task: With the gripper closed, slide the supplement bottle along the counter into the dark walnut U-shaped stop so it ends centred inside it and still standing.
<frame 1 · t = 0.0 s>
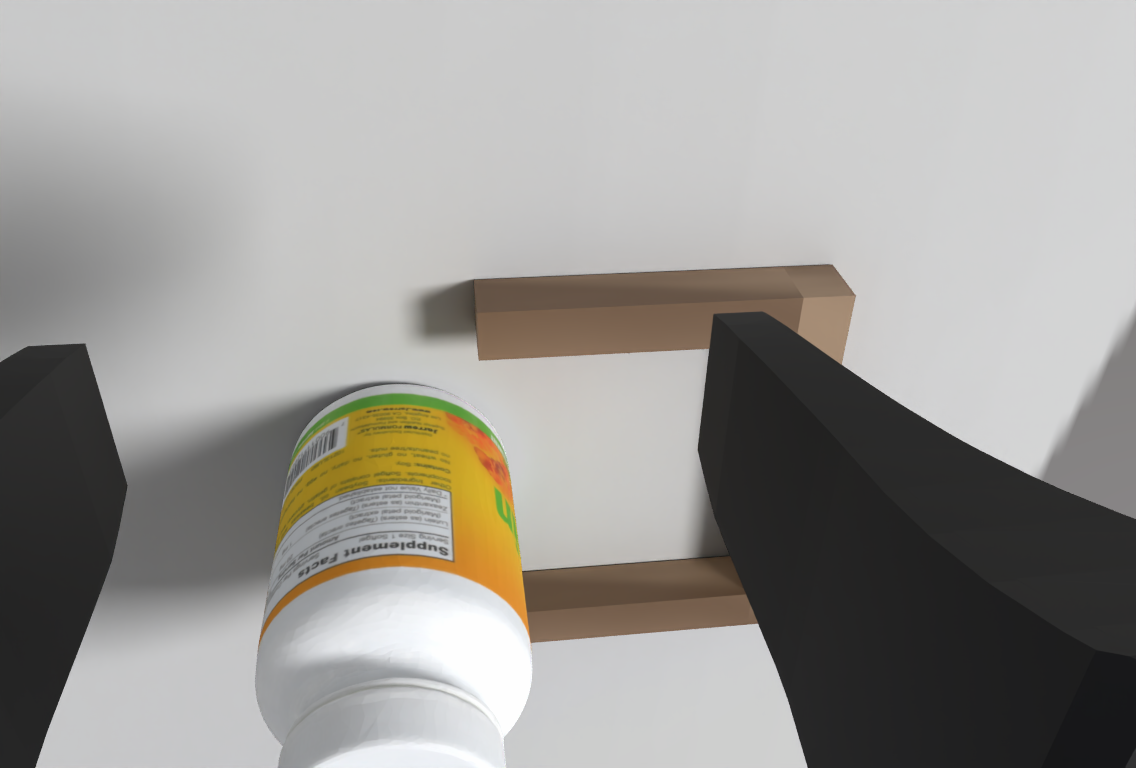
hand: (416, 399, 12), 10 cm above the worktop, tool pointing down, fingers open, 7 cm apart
supplement bottle: (401, 460, 25), on the worktop
walnut stop: (616, 452, 26), on the worktop
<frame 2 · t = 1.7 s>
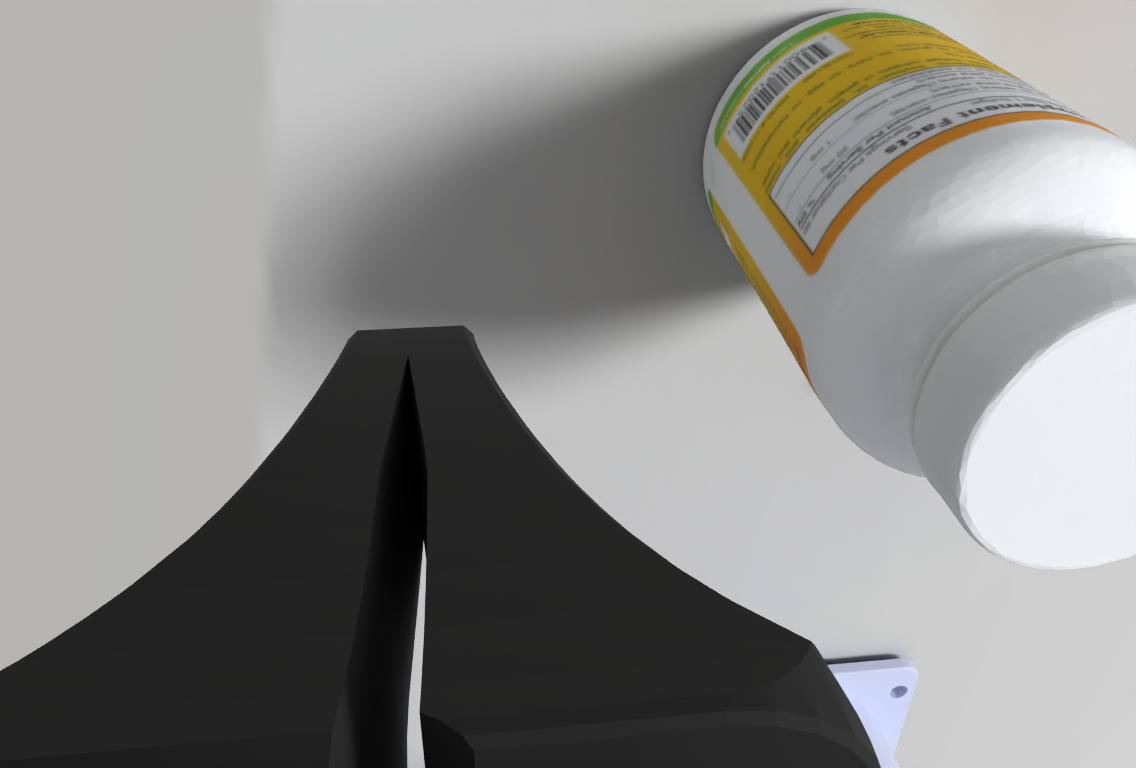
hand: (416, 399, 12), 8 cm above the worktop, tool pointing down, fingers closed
supplement bottle: (829, 142, 19), on the worktop
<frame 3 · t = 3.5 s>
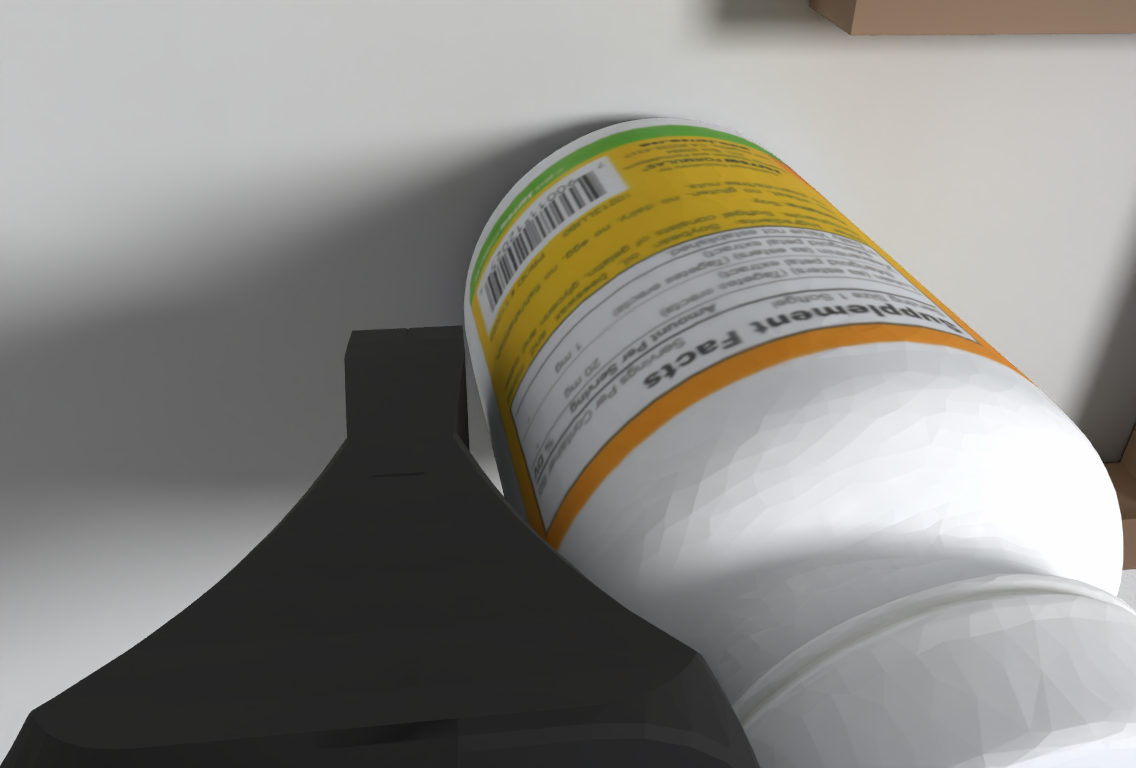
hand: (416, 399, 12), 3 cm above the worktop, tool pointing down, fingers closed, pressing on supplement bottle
supplement bottle: (637, 281, 15), on the worktop, touching gripper
walnut stop: (984, 272, 15), on the worktop
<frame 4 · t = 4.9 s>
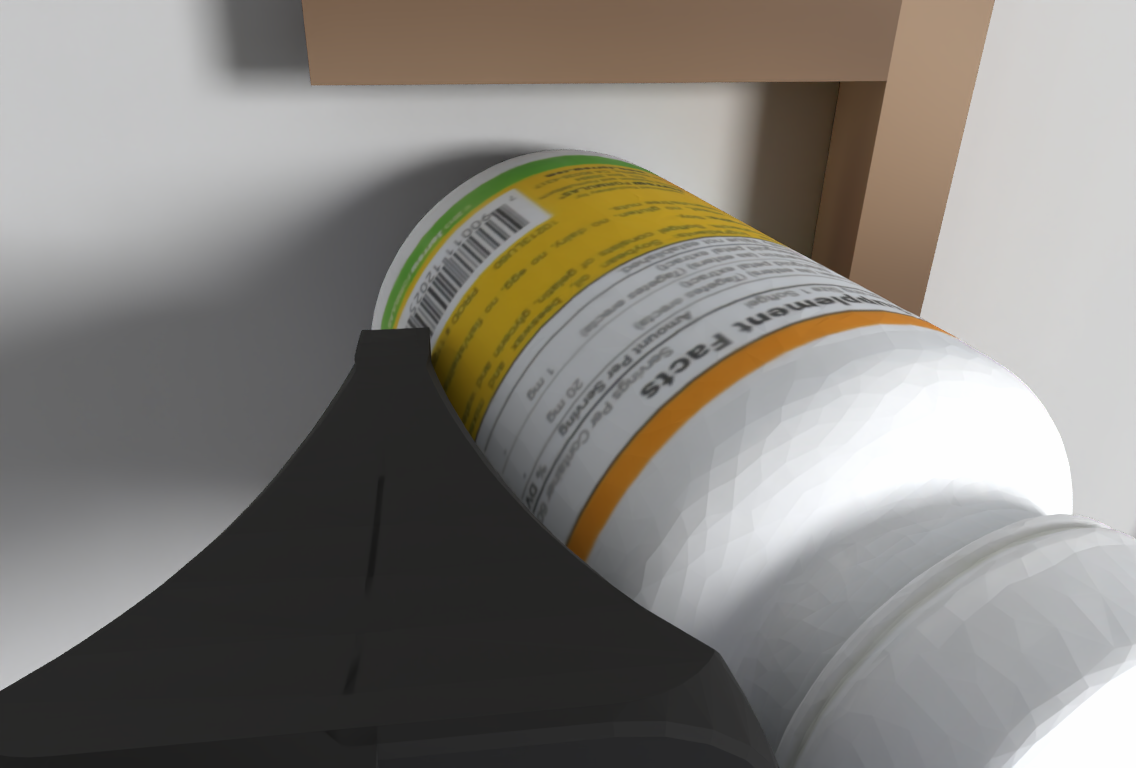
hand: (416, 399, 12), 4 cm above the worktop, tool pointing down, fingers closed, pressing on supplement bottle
supplement bottle: (533, 314, 15), point 1 cm above the worktop, touching gripper
walnut stop: (576, 314, 16), on the worktop
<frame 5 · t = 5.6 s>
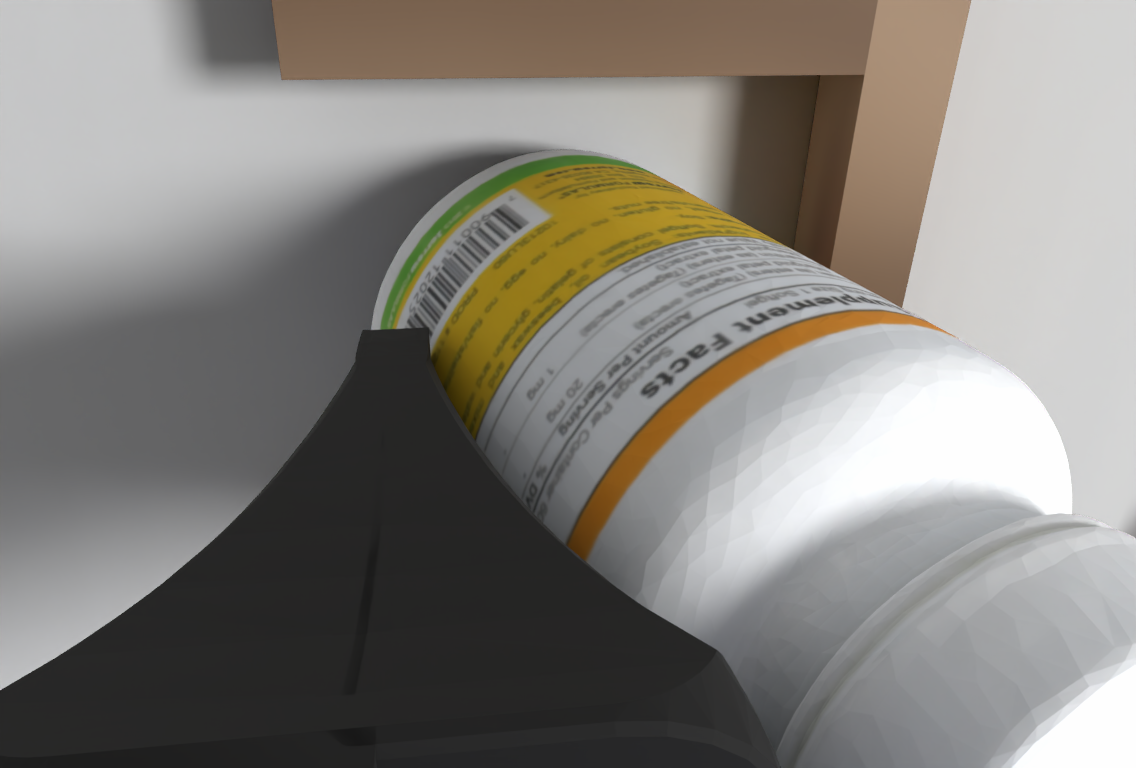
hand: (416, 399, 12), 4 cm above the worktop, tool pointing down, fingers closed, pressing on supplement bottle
supplement bottle: (533, 314, 15), on the worktop, touching gripper
walnut stop: (556, 310, 15), on the worktop
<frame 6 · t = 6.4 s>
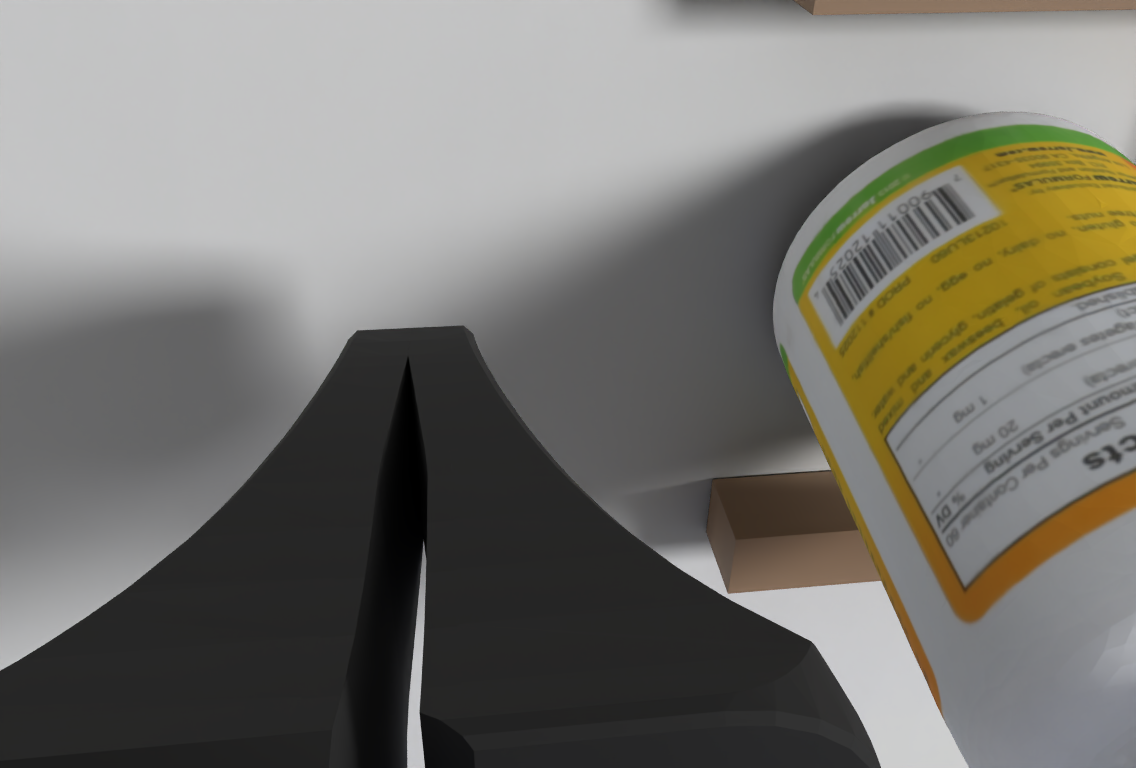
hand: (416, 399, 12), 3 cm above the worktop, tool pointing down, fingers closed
supplement bottle: (937, 261, 15), on the worktop
walnut stop: (962, 259, 15), on the worktop
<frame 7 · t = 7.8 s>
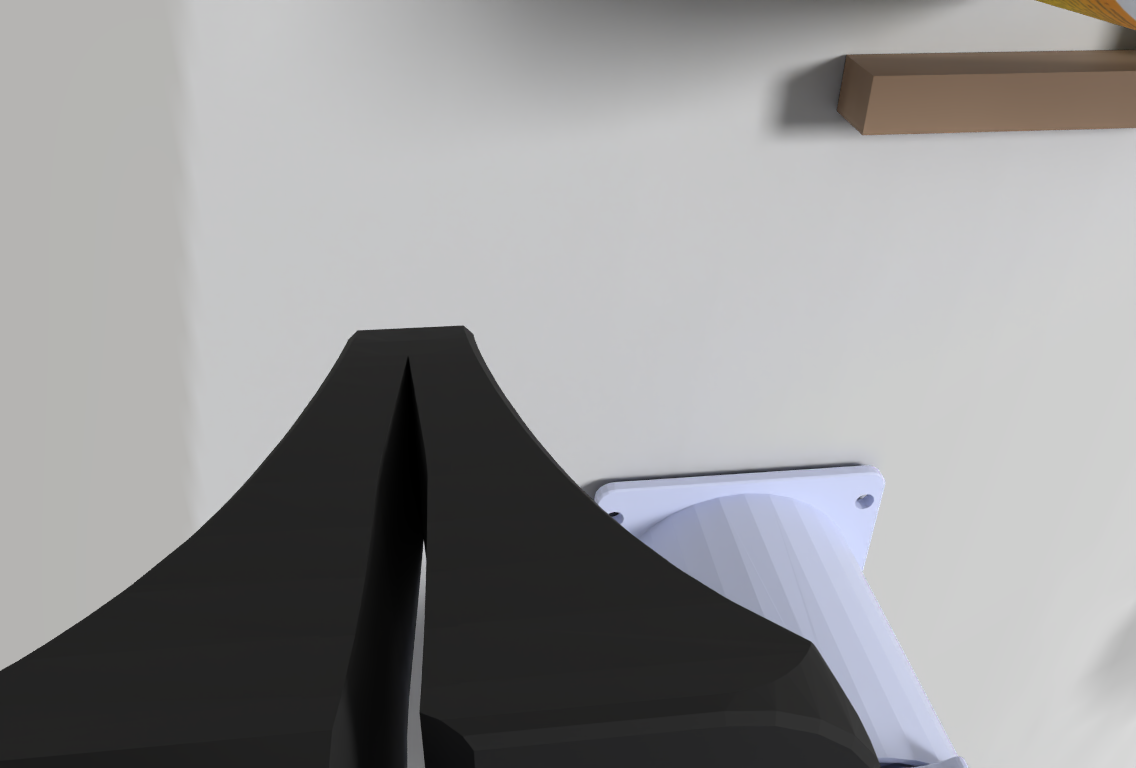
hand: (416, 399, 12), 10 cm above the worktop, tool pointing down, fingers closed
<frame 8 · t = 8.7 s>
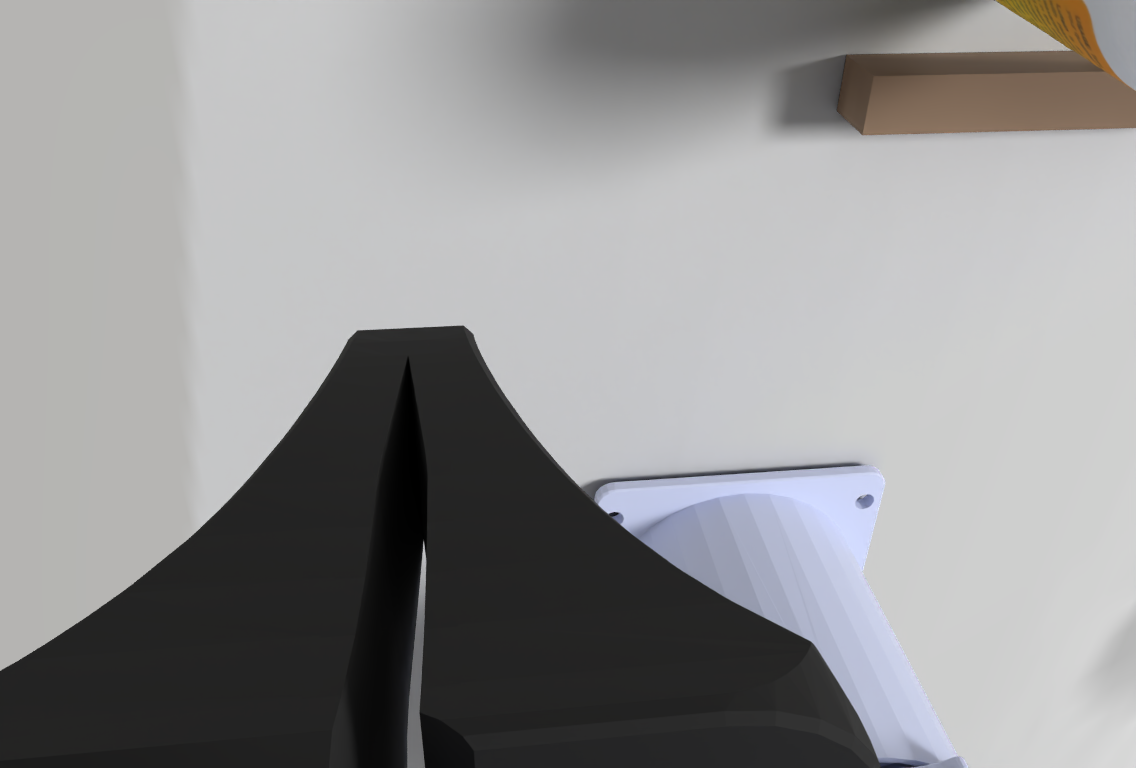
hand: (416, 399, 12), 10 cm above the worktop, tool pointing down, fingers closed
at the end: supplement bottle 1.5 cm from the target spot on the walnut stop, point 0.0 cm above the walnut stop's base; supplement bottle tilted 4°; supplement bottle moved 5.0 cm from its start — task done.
